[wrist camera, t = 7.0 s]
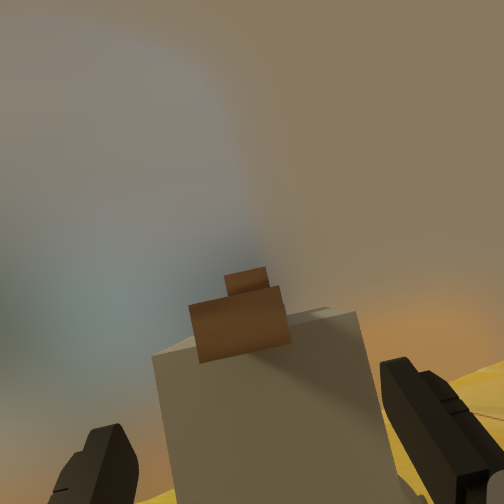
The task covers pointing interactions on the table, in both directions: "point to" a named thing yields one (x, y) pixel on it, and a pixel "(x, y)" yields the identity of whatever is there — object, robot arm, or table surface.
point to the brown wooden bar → (240, 318)
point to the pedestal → (278, 420)
